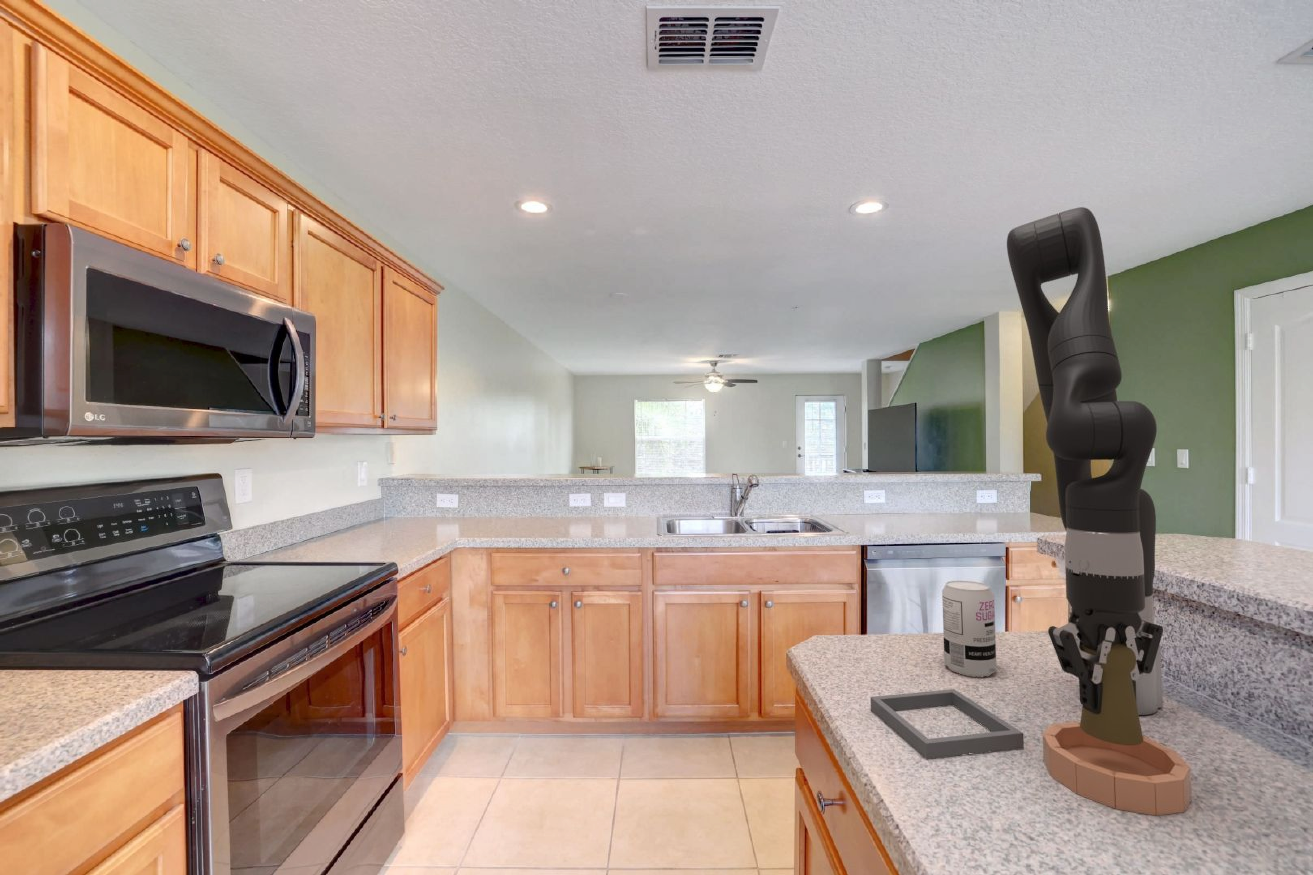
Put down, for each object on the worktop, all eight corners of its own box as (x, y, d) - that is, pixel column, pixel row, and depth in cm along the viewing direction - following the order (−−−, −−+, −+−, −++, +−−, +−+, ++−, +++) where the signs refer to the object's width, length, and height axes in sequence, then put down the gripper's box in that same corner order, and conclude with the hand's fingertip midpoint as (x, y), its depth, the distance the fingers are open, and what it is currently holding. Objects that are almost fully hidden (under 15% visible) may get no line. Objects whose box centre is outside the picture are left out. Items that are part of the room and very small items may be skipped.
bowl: (1110, 744, 76) (1109, 717, 76) (1222, 806, 63) (1221, 774, 63) (1019, 754, 74) (1018, 727, 74) (1116, 821, 61) (1115, 787, 61)
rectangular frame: (954, 701, 90) (953, 688, 90) (1023, 748, 76) (1023, 732, 76) (870, 709, 88) (870, 696, 88) (926, 759, 74) (926, 743, 74)
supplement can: (948, 657, 108) (945, 577, 108) (999, 666, 103) (996, 583, 103) (940, 672, 101) (937, 587, 102) (994, 682, 97) (991, 593, 97)
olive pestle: (1155, 747, 65) (1152, 650, 66) (1095, 742, 67) (1092, 648, 67) (1124, 722, 71) (1121, 633, 72) (1069, 718, 73) (1067, 631, 73)
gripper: (1125, 557, 74) (1129, 691, 74) (1026, 563, 72) (1030, 700, 72) (1186, 570, 67) (1191, 719, 66) (1078, 576, 65) (1083, 730, 64)
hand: (1108, 708), depth 69 cm, fingers closed on olive pestle, 3 cm apart
